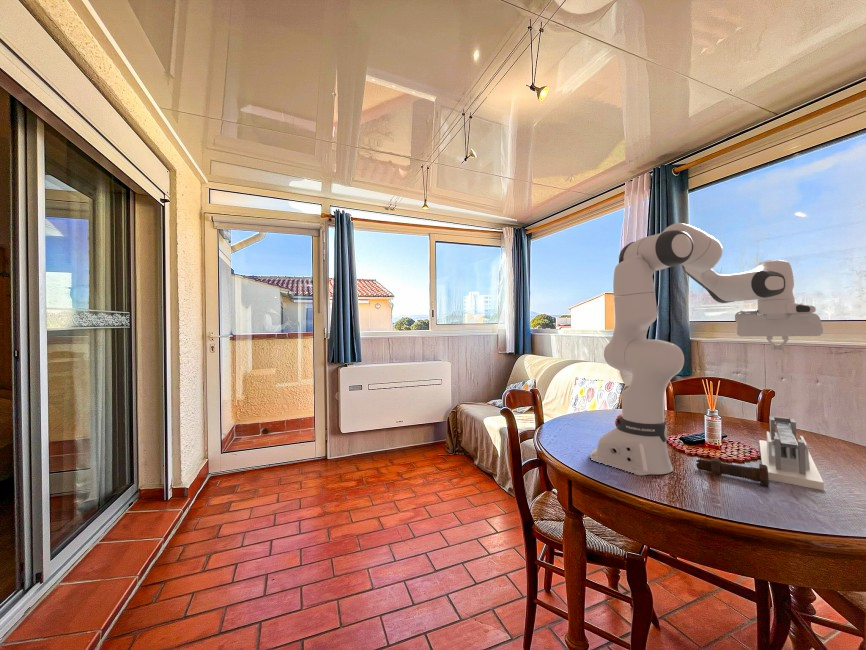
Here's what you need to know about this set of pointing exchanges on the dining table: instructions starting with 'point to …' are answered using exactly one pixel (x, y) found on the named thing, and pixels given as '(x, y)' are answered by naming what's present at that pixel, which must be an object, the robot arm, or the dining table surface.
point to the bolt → (735, 470)
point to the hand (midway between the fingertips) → (777, 349)
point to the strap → (786, 435)
